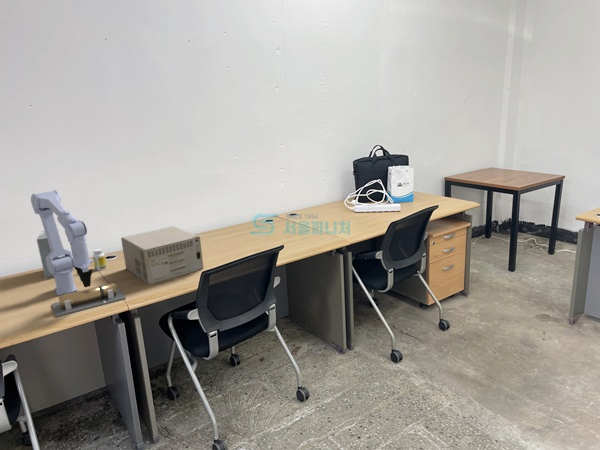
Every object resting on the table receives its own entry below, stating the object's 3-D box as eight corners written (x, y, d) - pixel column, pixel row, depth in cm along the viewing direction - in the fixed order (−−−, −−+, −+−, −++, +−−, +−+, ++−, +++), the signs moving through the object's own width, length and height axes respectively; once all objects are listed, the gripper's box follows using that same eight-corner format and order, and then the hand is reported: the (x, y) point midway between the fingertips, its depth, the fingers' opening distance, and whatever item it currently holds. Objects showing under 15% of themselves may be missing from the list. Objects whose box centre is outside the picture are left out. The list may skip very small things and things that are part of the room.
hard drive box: (49, 268, 227) (41, 230, 221) (66, 266, 229) (59, 228, 224) (44, 279, 212) (36, 239, 207) (62, 276, 215) (54, 236, 210)
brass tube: (59, 303, 180) (57, 293, 178) (114, 290, 191) (113, 280, 189) (61, 311, 177) (59, 301, 174) (117, 296, 188) (116, 287, 185)
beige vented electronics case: (177, 255, 237) (173, 225, 233) (203, 269, 216) (199, 236, 211) (126, 269, 221) (120, 237, 216) (148, 285, 199) (143, 250, 195)
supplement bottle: (108, 266, 225) (105, 248, 223) (104, 270, 220) (101, 251, 218) (97, 267, 225) (94, 248, 223) (93, 270, 220) (89, 252, 217)
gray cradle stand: (51, 305, 183) (50, 295, 182) (118, 288, 197) (116, 279, 196) (56, 317, 172) (53, 307, 171) (126, 298, 185) (124, 289, 184)
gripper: (94, 254, 175) (99, 286, 178) (87, 245, 186) (93, 276, 190) (74, 258, 171) (80, 291, 175) (68, 249, 183) (74, 280, 186)
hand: (85, 283), depth 182 cm, fingers open, 7 cm apart
